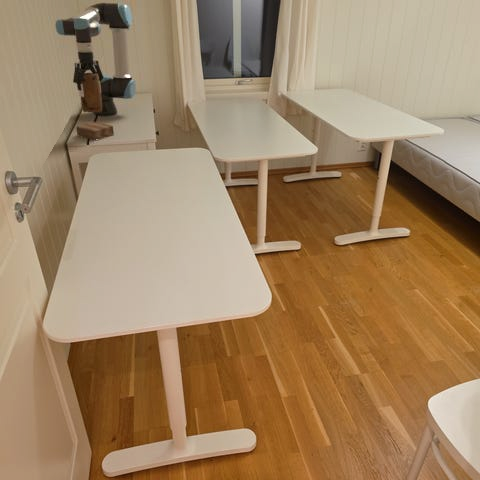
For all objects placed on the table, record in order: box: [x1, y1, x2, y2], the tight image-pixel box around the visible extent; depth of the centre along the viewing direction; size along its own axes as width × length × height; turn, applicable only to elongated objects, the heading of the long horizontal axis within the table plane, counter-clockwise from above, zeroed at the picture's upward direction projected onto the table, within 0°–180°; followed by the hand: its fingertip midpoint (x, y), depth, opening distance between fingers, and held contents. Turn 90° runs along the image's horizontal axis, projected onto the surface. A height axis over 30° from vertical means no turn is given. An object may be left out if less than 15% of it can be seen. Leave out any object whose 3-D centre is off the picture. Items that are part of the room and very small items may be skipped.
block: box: [80, 72, 102, 114], centre depth 242 cm, size 11×8×20 cm
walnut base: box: [75, 121, 115, 141], centre depth 253 cm, size 14×14×5 cm
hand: (90, 94), depth 243 cm, fingers closed on block, 11 cm apart
